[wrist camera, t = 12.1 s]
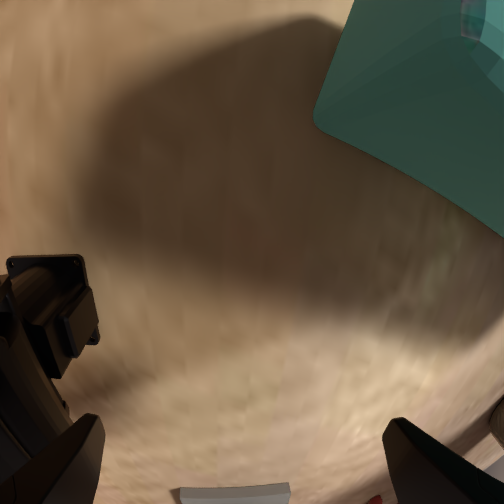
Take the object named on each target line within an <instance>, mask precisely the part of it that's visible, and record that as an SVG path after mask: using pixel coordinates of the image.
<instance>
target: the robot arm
mask: <svg viewBox="0 0 504 504" xmlns="http://www.w3.org/2000/svg"><path fill="white" fill-rule="evenodd" d="M74 260H77V261H78V263H79V266H78V265H76V264H75V262H74ZM12 262H13V264H14V266H13V265H12ZM6 265H7V270H8V274H6V275H0V504H93V501H94V497H95V493H96V489H97V485H98V481H99V476H100V469H101V462H102V455H103V449H104V443H105V430H104V428H103V425H102V422H101V419H100V417H99V416H98V415H95V414H90V413H86V414H84V415H83V416H82V417H81V418H80V419H78V420H77V421H76V422H75V423H73V422H72V420H71V419H70V417H69V407H68V405H67V404H66V402H65V401H63V400H62V398H61V396H60V395H59V393H58V391H57V389H56V387H55V386H54V384H53V382H52V380H51V378H54V379H61V378H62V376H63V374H64V372H65V371H66V369H67V367H68V365H69V363H70V362H71V360H72V358H78V357H79V355H80V354H81V352H82V350H83V348H84V347H85V345H97V344H98V342H99V341H100V334H99V330H98V326H97V324H98V323H99V320H98V316H97V311H96V307H95V302H94V297H93V292H92V289H91V288H90V286H89V284H88V279H87V274H86V268H85V262H84V259H83V257H82V256H81V255H79V254H62V255H27V256H11V257H9V258H8V259H7V261H6ZM91 336H93V337H94V338H95V339H93V338H91ZM382 441H383V446H384V450H385V455H386V460H387V464H388V469H389V474H390V477H391V481H392V484H393V487H394V490H395V493H396V496H397V499H398V502H399V504H504V483H503V482H501V481H499V480H497V479H495V478H493V477H492V476H490V475H489V474H487V473H485V472H484V471H482V470H481V469H479V468H477V467H476V466H474V465H473V464H471V463H470V462H468V461H467V460H465V459H464V458H462V457H461V456H459V455H458V454H456V453H455V452H453V451H452V450H450V449H449V448H447V447H446V446H444V445H443V444H441V443H440V442H438V441H437V440H436V439H434V438H433V437H431V436H430V435H428V434H427V433H425V432H424V431H423V430H421V429H420V428H418V427H417V426H415V425H414V424H413V423H411V422H410V421H408V420H407V419H406V418H404V417H398V418H393V419H392V420H391V421H390V422H389V424H388V426H387V428H386V429H385V431H384V433H383V436H382Z"/></svg>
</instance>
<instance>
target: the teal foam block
mask: <svg viewBox="0 0 504 504" xmlns="http://www.w3.org/2000/svg"><path fill="white" fill-rule="evenodd" d="M313 120H314V123H315V125H316V127H317V128H319V129H320V130H321V131H323V132H324V133H326V134H328V135H331V136H333V137H335V138H337V139H339V140H341V141H343V142H346V143H348V144H350V145H352V146H354V147H356V148H358V149H360V150H362V151H364V152H366V153H368V154H370V155H372V156H374V157H376V158H377V159H379V160H381V161H383V162H385V163H387V164H389V165H391V166H392V167H394V168H396V169H398V170H400V171H401V172H403V173H405V174H407V175H409V176H410V177H412V178H414V179H415V180H417V181H419V182H421V183H422V184H424V185H426V186H427V187H429V188H431V189H432V190H434V191H435V192H437V193H439V194H440V195H442V196H443V197H445V198H447V199H448V200H450V201H451V202H453V203H454V204H456V205H457V206H459V207H460V208H462V209H463V210H465V211H466V212H468V213H469V214H471V215H472V216H474V217H475V218H477V219H478V220H479V221H481V222H482V223H484V224H485V225H487V226H488V227H489V228H491V229H492V230H493V231H495V232H496V233H497V234H499V235H500V236H501V237H503V238H504V0H354V3H353V5H352V8H351V11H350V14H349V16H348V19H347V22H346V24H345V27H344V30H343V32H342V35H341V38H340V40H339V43H338V46H337V48H336V51H335V54H334V56H333V59H332V62H331V64H330V67H329V70H328V72H327V75H326V78H325V80H324V83H323V86H322V88H321V91H320V94H319V96H318V99H317V101H316V104H315V107H314V109H313Z"/></svg>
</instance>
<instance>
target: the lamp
mask: <svg viewBox="0 0 504 504" xmlns="http://www.w3.org/2000/svg"><path fill="white" fill-rule="evenodd" d="M489 426H490V431H491V434H492V435H493V437H494V438H495V439H496V441H497V442H498V443H499V444H500V446H501V447H502V448H503V450H504V399H503V400H502V401H501V403H500V404H499V405H498V406H497V408H496V409H495V411H494V412H493V414H492V416H491V419H490V424H489Z"/></svg>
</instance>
